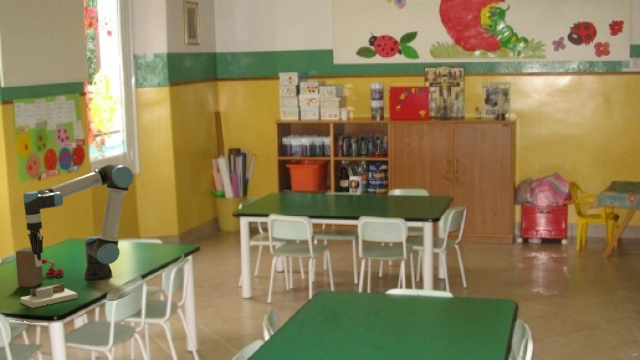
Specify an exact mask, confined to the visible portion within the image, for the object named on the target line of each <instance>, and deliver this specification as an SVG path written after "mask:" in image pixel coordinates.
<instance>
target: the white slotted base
mask: <svg viewBox="0 0 640 360" xmlns="http://www.w3.org/2000/svg"><path fill="white" fill-rule="evenodd" d="M45 287H46V286H45ZM40 288H41V287H40ZM78 298H79V296H78V292H75V291H73V290H70V289H68V288H65V290H63V291H58V292H53V287H46V288H41V289H36V296H31V295H28V296H27V295H26V296H22V297H20V303H21V304H23V305H25V306H28V307H30V308H32V309H34V308H38V307H43V306H46V305H47V304H48V305H52V304H56V303H60V302H64V301H70V300H74V299H78Z"/></svg>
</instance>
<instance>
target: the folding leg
mask: <svg viewBox="0 0 640 360" xmlns="http://www.w3.org/2000/svg"><path fill="white" fill-rule="evenodd" d="M46 287H53V292H58V291H63V290H65V283H63V282H61V283H57V284H52V285H51V284H50V285H47V286H40V287H36V288H35V287H34V288H30V290H29V292H30V296H36V289H41V288H46Z"/></svg>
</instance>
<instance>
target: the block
mask: <svg viewBox="0 0 640 360" xmlns="http://www.w3.org/2000/svg"><path fill="white" fill-rule="evenodd" d="M15 260H16V261H15V262H16V274H17V286H18V287H19V288H35V287H37V286H39V285H41V284H43V283H44V277H43V276H44V275H43V265H42V266H38V267H37V266H36V262H35V254H34V252H32V248H31V247H27V246H26V247H23V248H20V249H19V250H16V251H15Z"/></svg>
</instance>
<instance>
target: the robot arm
mask: <svg viewBox="0 0 640 360" xmlns="http://www.w3.org/2000/svg"><path fill="white" fill-rule="evenodd" d="M133 181H134V173H133V171H132V169H131V168H130V167H128V166H127V165H123V164H118V163H110V164H106V165H103V166H100V167H99V168H96V169H94V170H93V171H92V172H89V173H87V174H85V175H82V176H79V177H76V178H74V179H71V180H68V181H65V182H63V183H60V184H57V185H54V186H51V187H49V188H44V189H39V190H37V191H26V192H25V193H23V196H22V197H23V198H22V199H23V206H24V214H25V217H24V219H25V221H26V229H27V231H29V233H27V236H28V239H29V242H30V248H32V252H34V254H35V262H36V266H37V267H38V266H42V267H43V264H42V260H43V259H42V254H43V253H44V246H43V245H44V243H43V242H44V241H43V240H44V236H43V235H41V232H40V231H41V229H43V223H42V215H41V214H42V213H41V210H43V209H44V210H45V209H49V208H50V209H51V208H52V209H53V208H57V207H61V206H63V204H64V198H67V197H69V196H72V195H75V194H78V193H81V192H83V191H86V190H89V189H92V188H94V187H97V186H99V187H103V186H105V185H106V189H107V191H108V193H107V197H106V202H105V203H106V205H105V209H104V214H103V220H102V225H101V229H100V230H101V231H100V234H99V235H96V236H90V237H86V238H85V241H84V245H85V257H86V266H85V270H84V274H83V275H84V276H83V277H84V280H88V281H99V280H101V281H102V280H107V279H109V278H112V277H113V270H112V269H111V264H113V263H115V262H116V261H117V260H118V258H119V257H120V254H121V253H120V248H119V247H118V246H119V242H120V241H119V238H118V233H119V232H118V231H119V225H120V219H121V215H122V210H123V204H124V200H125V199H124V198H125V194H126V193H128V192H129V187H130V186H131V185H132V184H133Z"/></svg>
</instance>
